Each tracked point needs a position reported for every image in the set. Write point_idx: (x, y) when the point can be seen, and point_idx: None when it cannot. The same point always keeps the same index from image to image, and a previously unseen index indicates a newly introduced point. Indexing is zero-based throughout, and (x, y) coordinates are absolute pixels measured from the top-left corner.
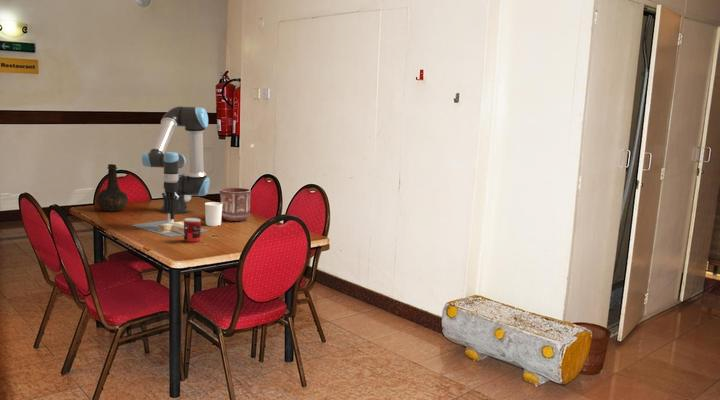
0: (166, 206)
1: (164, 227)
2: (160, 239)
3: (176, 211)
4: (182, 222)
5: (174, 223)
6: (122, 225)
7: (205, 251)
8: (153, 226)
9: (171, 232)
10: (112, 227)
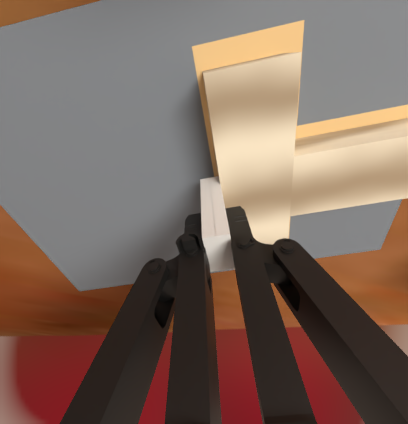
0: (163, 327)
1: None
2: (371, 282)
3: (300, 249)
4: (258, 122)
5: (254, 192)
6: (73, 306)
7: None
8: (133, 238)
9: (313, 219)
10: (104, 327)
